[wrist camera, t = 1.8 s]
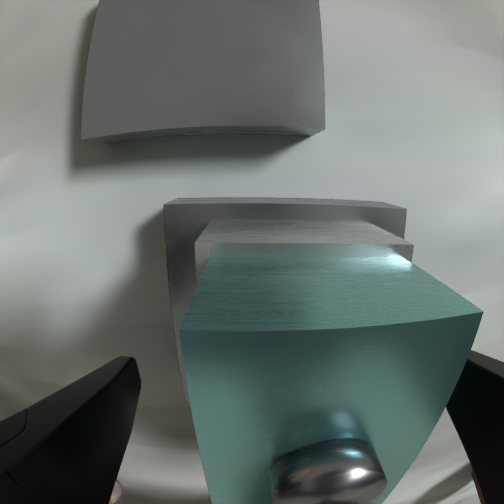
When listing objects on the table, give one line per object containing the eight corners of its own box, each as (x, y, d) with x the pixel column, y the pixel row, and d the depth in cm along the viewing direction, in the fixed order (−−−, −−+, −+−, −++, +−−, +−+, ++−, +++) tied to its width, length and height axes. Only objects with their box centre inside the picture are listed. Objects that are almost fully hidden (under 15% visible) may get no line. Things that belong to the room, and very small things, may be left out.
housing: (340, 390, 11) (391, 528, 4) (219, 394, 11) (205, 548, 4) (367, 221, 9) (530, 313, 3) (211, 219, 9) (128, 343, 2)
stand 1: (311, 136, 10) (325, 129, 8) (105, 143, 10) (81, 139, 8) (303, -26, 8) (312, -51, 6) (125, -14, 8) (109, -34, 6)
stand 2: (357, 368, 13) (370, 394, 11) (191, 373, 13) (185, 401, 11) (382, 202, 11) (406, 209, 9) (178, 198, 11) (163, 204, 9)
